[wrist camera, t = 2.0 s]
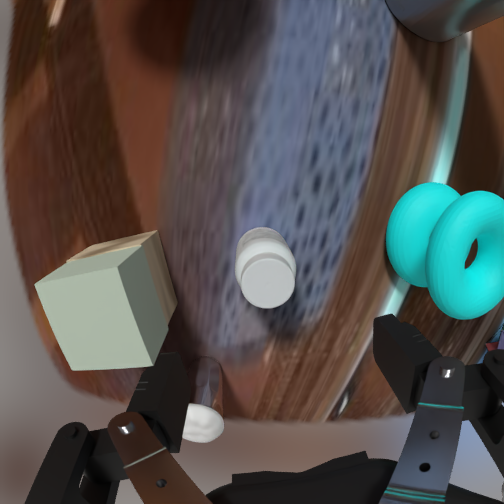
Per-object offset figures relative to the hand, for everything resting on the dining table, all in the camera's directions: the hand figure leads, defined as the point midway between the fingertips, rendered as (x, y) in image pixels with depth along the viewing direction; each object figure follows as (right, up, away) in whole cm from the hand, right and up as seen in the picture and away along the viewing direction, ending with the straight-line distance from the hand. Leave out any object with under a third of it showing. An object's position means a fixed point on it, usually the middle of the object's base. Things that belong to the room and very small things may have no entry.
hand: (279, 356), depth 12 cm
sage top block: (-12, +1, +11) cm, 16 cm away
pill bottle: (0, +4, +15) cm, 16 cm away
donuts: (+16, +6, +15) cm, 23 cm away
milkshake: (-6, -8, +18) cm, 21 cm away
